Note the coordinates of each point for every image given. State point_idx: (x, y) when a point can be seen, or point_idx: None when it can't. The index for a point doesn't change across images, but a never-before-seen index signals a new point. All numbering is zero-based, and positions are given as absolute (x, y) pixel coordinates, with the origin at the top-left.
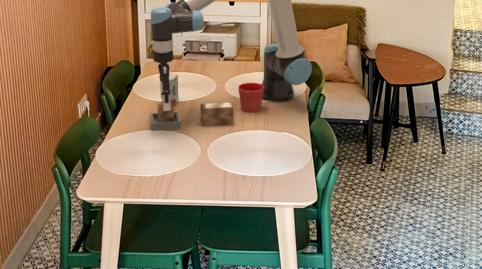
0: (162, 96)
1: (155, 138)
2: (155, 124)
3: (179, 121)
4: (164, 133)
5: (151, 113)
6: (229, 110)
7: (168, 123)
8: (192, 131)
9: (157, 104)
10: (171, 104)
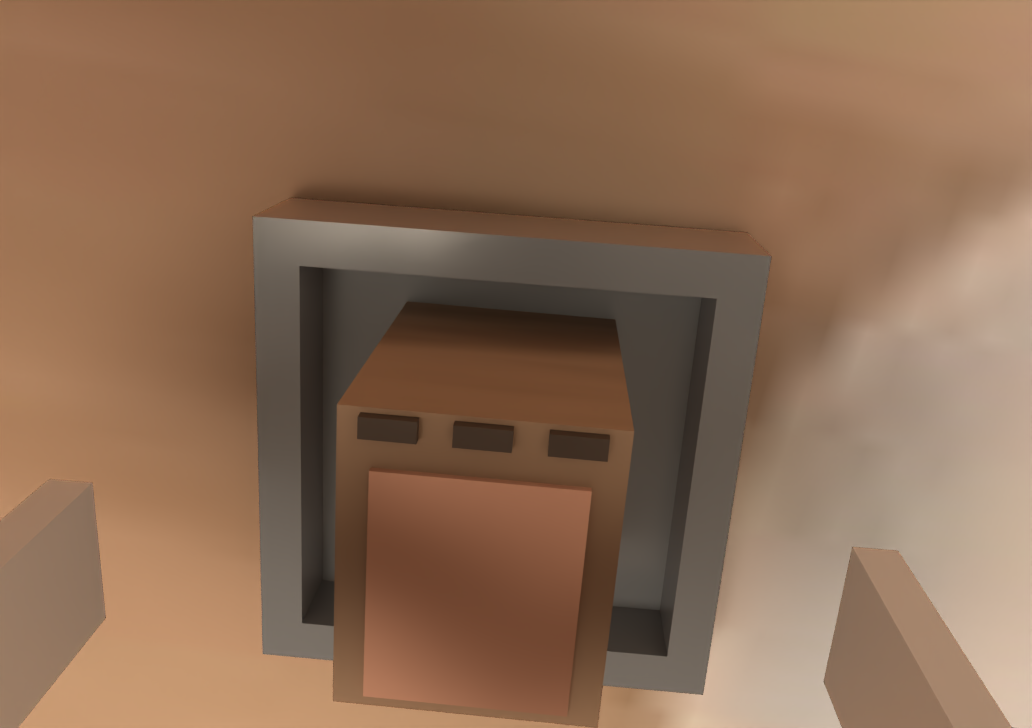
0: (81, 617)
1: (987, 624)
2: (706, 631)
3: (741, 271)
4: (850, 489)
5: (276, 634)
6: None
7: (738, 451)
8: (916, 59)
9: (393, 706)
10: (445, 451)
